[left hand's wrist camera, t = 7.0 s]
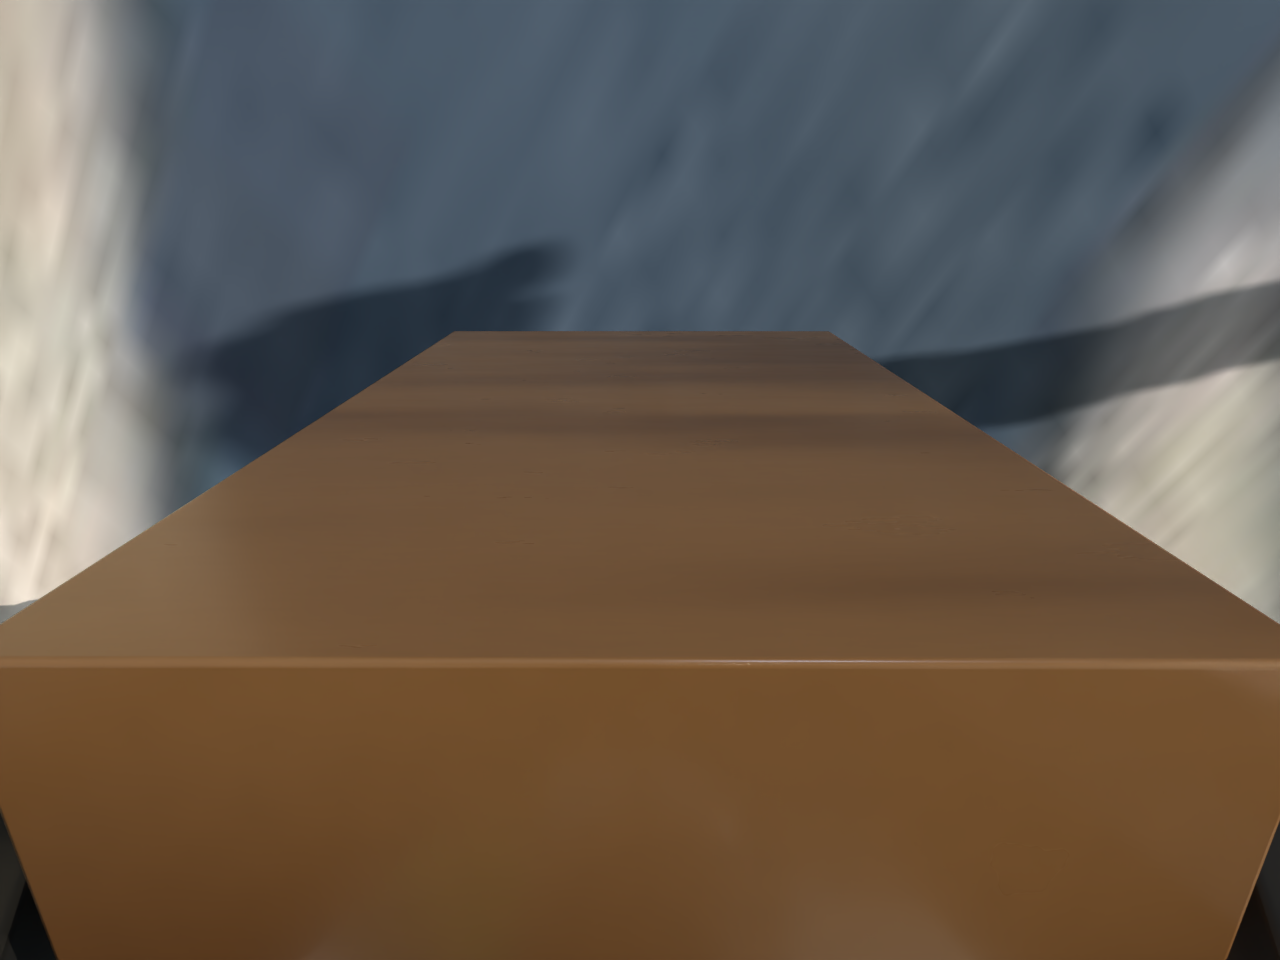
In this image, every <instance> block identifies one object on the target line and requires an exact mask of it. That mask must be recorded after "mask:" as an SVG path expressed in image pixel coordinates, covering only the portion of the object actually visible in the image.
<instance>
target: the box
mask: <svg viewBox="0 0 1280 960" xmlns="http://www.w3.org/2000/svg"><path fill="white" fill-rule="evenodd" d="M0 814H1V816H2V819H3V821H4V824H5V827H6V829H7V832H8V834H9V837H10V840H11V842H12V845H13V848H14V850H15V853H16V855H17V858H18V861H19V863H20V866H21V869H22V871H23V874H24V876H25V879H26V882H27V884H28V887H29V890H30V892H31V895H32V897H33V900H34V903H35V905H36V908H37V910H38V913H39V916H40V918H41V921H42V924H43V926H44V929H45V931H46V934H47V937H48V939H49V942H50V945H51V947H52V950H53V952H54V955H55V958H56V960H1227V957H1228V954H1229V952H1230V949H1231V947H1232V944H1233V941H1234V939H1235V936H1236V934H1237V931H1238V928H1239V926H1240V923H1241V920H1242V918H1243V915H1244V913H1245V910H1246V907H1247V905H1248V902H1249V900H1250V897H1251V894H1252V892H1253V889H1254V887H1255V884H1256V881H1257V879H1258V876H1259V874H1260V871H1261V868H1262V866H1263V863H1264V860H1265V858H1266V855H1267V853H1268V850H1269V847H1270V845H1271V842H1272V840H1273V837H1274V834H1275V832H1276V829H1277V827H1278V824H1279V821H1280V624H1278V623H1277V622H1275V621H1274V620H1272V619H1271V618H1269V617H1268V616H1266V615H1265V614H1263V613H1261V612H1260V611H1258V610H1257V609H1255V608H1254V607H1252V606H1251V605H1249V604H1248V603H1246V602H1245V601H1243V600H1241V599H1240V598H1238V597H1237V596H1235V595H1234V594H1232V593H1231V592H1229V591H1228V590H1226V589H1225V588H1223V587H1221V586H1220V585H1218V584H1217V583H1215V582H1214V581H1212V580H1211V579H1209V578H1208V577H1206V576H1205V575H1203V574H1201V573H1200V572H1198V571H1197V570H1195V569H1194V568H1192V567H1191V566H1189V565H1188V564H1186V563H1185V562H1183V561H1181V560H1180V559H1178V558H1177V557H1175V556H1174V555H1172V554H1171V553H1169V552H1168V551H1166V550H1164V549H1163V548H1161V547H1160V546H1158V545H1157V544H1155V543H1154V542H1152V541H1151V540H1149V539H1148V538H1146V537H1144V536H1143V535H1141V534H1140V533H1138V532H1137V531H1135V530H1134V529H1132V528H1131V527H1129V526H1128V525H1126V524H1124V523H1123V522H1121V521H1120V520H1118V519H1117V518H1115V517H1114V516H1112V515H1111V514H1109V513H1108V512H1106V511H1104V510H1103V509H1101V508H1100V507H1098V506H1097V505H1095V504H1094V503H1092V502H1091V501H1089V500H1088V499H1086V498H1084V497H1083V496H1081V495H1080V494H1078V493H1077V492H1075V491H1074V490H1072V489H1071V488H1069V487H1068V486H1066V485H1064V484H1063V483H1061V482H1060V481H1058V480H1057V479H1055V478H1054V477H1052V476H1051V475H1049V474H1048V473H1046V472H1044V471H1043V470H1041V469H1040V468H1038V467H1037V466H1035V465H1034V464H1032V463H1031V462H1029V461H1027V460H1026V459H1024V458H1023V457H1021V456H1020V455H1018V454H1017V453H1015V452H1014V451H1012V450H1011V449H1009V448H1007V447H1006V446H1004V445H1003V444H1001V443H1000V442H998V441H997V440H995V439H994V438H992V437H991V436H989V435H987V434H986V433H984V432H983V431H981V430H980V429H978V428H977V427H975V426H974V425H972V424H971V423H969V422H967V421H966V420H964V419H963V418H961V417H960V416H958V415H957V414H955V413H954V412H952V411H951V410H949V409H947V408H946V407H944V406H943V405H941V404H940V403H938V402H937V401H935V400H934V399H932V398H931V397H929V396H927V395H926V394H924V393H923V392H921V391H920V390H918V389H917V388H915V387H914V386H912V385H911V384H909V383H907V382H906V381H904V380H903V379H901V378H900V377H898V376H897V375H895V374H894V373H892V372H890V371H889V370H887V369H886V368H884V367H883V366H881V365H880V364H878V363H877V362H875V361H874V360H872V359H870V358H869V357H867V356H866V355H864V354H863V353H861V352H860V351H858V350H857V349H855V348H854V347H852V346H850V345H849V344H847V343H846V342H844V341H843V340H841V339H840V338H838V337H837V336H835V335H834V334H832V333H830V332H828V331H454V332H452V333H451V334H449V335H448V336H446V337H445V338H443V339H442V340H440V341H438V342H437V343H435V344H434V345H432V346H431V347H429V348H428V349H426V350H425V351H423V352H421V353H420V354H418V355H417V356H415V357H414V358H412V359H411V360H409V361H407V362H406V363H404V364H403V365H401V366H400V367H398V368H397V369H395V370H393V371H392V372H390V373H389V374H387V375H386V376H384V377H383V378H381V379H380V380H378V381H376V382H375V383H373V384H372V385H370V386H369V387H367V388H366V389H364V390H362V391H361V392H359V393H358V394H356V395H355V396H353V397H352V398H350V399H349V400H347V401H345V402H344V403H342V404H341V405H339V406H338V407H336V408H335V409H333V410H331V411H330V412H328V413H327V414H325V415H324V416H322V417H321V418H319V419H318V420H316V421H314V422H313V423H311V424H310V425H308V426H307V427H305V428H304V429H302V430H300V431H299V432H297V433H296V434H294V435H293V436H291V437H290V438H288V439H286V440H285V441H283V442H282V443H280V444H279V445H277V446H276V447H274V448H273V449H271V450H269V451H268V452H266V453H265V454H263V455H262V456H260V457H259V458H257V459H255V460H254V461H252V462H251V463H249V464H248V465H246V466H245V467H243V468H242V469H240V470H238V471H237V472H235V473H234V474H232V475H231V476H229V477H228V478H226V479H224V480H223V481H221V482H220V483H218V484H217V485H215V486H214V487H212V488H210V489H209V490H207V491H206V492H204V493H203V494H201V495H200V496H198V497H197V498H195V499H193V500H192V501H190V502H189V503H187V504H186V505H184V506H183V507H181V508H179V509H178V510H176V511H175V512H173V513H172V514H170V515H169V516H167V517H166V518H164V519H162V520H161V521H159V522H158V523H156V524H155V525H153V526H152V527H150V528H148V529H147V530H145V531H144V532H142V533H141V534H139V535H138V536H136V537H135V538H133V539H131V540H130V541H128V542H127V543H125V544H124V545H122V546H121V547H119V548H117V549H116V550H114V551H113V552H111V553H110V554H108V555H107V556H105V557H103V558H102V559H100V560H99V561H97V562H96V563H94V564H93V565H91V566H90V567H88V568H86V569H85V570H83V571H82V572H80V573H79V574H77V575H76V576H74V577H72V578H71V579H69V580H68V581H66V582H65V583H63V584H62V585H60V586H59V587H57V588H55V589H54V590H52V591H51V592H49V593H48V594H46V595H45V596H43V597H41V598H40V599H38V600H37V601H35V602H34V603H32V604H31V605H29V606H27V607H26V608H24V609H23V610H21V611H20V612H18V613H17V614H15V615H14V616H12V617H10V618H9V619H7V620H6V621H4V622H3V623H1V624H0Z"/></svg>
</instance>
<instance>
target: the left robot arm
mask: <svg viewBox="0 0 1280 960" xmlns="http://www.w3.org/2000/svg"><path fill="white" fill-rule="evenodd" d="M0 960H56V958H55V955H54V952H53V950H52V947H51V945H50V942H49V939H48V937H47V934H46V931H45V929H44V926H43V924H42V921H41V918H40V916H39V913H38V910H37V908H36V905H35V903H34V900H33V897H32V895H31V892H30V890H29V887H28V884H27V882H26V879H25V876H24V874H23V871H22V869H21V866H20V863H19V861H18V858H17V855H16V853H15V850H14V848H13V845H12V842H11V840H10V837H9V834H8V832H7V829H6V827H5V824H4V821H3V819H2V816H1V814H0ZM1227 960H1280V821H1279V824H1278V827H1277V829H1276V832H1275V834H1274V837H1273V840H1272V842H1271V845H1270V847H1269V850H1268V853H1267V855H1266V858H1265V860H1264V863H1263V866H1262V868H1261V871H1260V874H1259V876H1258V879H1257V881H1256V884H1255V887H1254V889H1253V892H1252V894H1251V897H1250V900H1249V902H1248V905H1247V907H1246V910H1245V913H1244V915H1243V918H1242V920H1241V923H1240V926H1239V928H1238V931H1237V934H1236V936H1235V939H1234V941H1233V944H1232V947H1231V949H1230V952H1229V954H1228V957H1227Z"/></svg>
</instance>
